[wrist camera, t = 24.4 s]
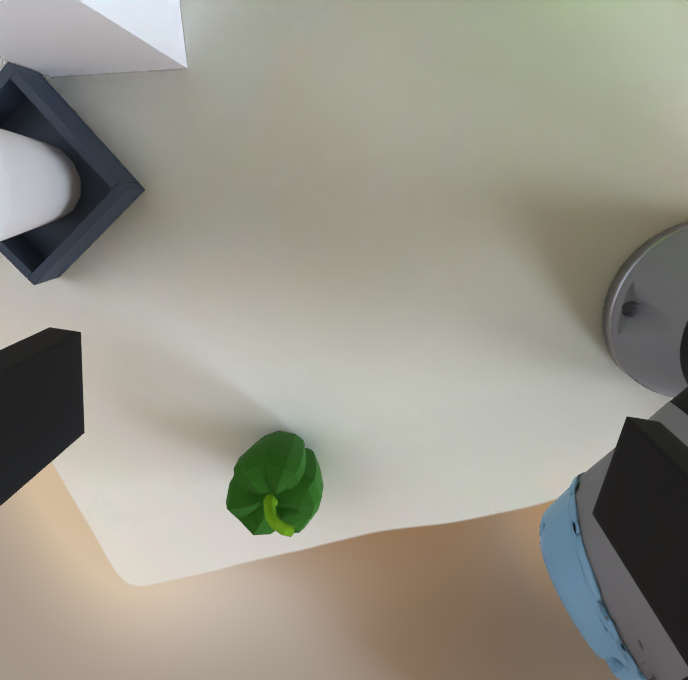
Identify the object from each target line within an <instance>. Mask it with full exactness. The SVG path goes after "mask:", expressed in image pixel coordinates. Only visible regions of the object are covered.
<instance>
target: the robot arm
mask: <svg viewBox="0 0 688 680" xmlns="http://www.w3.org/2000/svg"><path fill="white" fill-rule="evenodd" d="M602 326H603V334H604V338H605V342H606V345H607V348H608V350H609V352H610V354H611V356H612V357H613V359H614V361H615V362H616V363H617V364H618V366H619V367H620V368H621V369H622V370H623V371H624V372H625V373H627V374H628V375H629V376H630V377H632V378H633V379H634V380H635V381H637V382H638V383H639V384H641V385H642V386H644V387H646V388H647V389H650V390H652V391H654V392H657V393H659V394H662V395H665V396H669V397H673V399H672V400H671V401H670V402H668V403H667V404H665V405H664V406H663V407H662V408H661V409H660V410H659V411H657V412H656V413H655V414H654V415H653V416H652V417H650V418H649V419H648V420H646V419H639V418H633V417H626V420H625V423H624V426H623V428H622V431H621V434H620V437H619V440H618V442H617V445H616V447H615V448H614V449H613V450H612V451H611V452H609V453H608V454H607V455H606V456H605V457H603V458H602V459H601V460H600V461H599V462H597V463H596V464H595V465H594V466H592V467H591V468H590V469H589V470H588V471H586V472H583V473H582V474H580V475H578V476H577V477H575V479H574V480H573V482H572V484H571V486H570V487H569V488H568V489H567V490H566V491H565V492H564V493H563V494H562V495H561V496H560V497H559V498H558V499H557V500H556V501H555V502H554V503H553V504H552V505H551V506H549V508H548V509H547V510H546V511H545V513H544V515H543V517H542V519H541V523H540V545H541V551H542V555H543V559H544V562H545V565H546V568H547V571H548V573H549V576H550V578H551V581H552V583H553V585H554V587H555V589H556V591H557V593H558V595H559V597H560V599H561V601H562V603H563V605H564V607H565V608H566V610H567V612H568V613H569V615H570V617H571V619H572V620H573V622H574V624H575V625H576V627H577V628H578V630H579V631H580V632H581V634H582V636H583V637H584V639H585V640H586V641H587V643H588V644H589V646H590V647H591V648H592V649H593V651H594V652H595V653H596V654H597V656H598V657H600V658H603V659H605V660H606V662H607V664H608V665H609V667H610V669H611V671H612V673H613V674H614V675H615V676H616V677H617V678H618V679H619V680H688V222H686V223H683V224H680V225H677V226H674V227H672V228H670V229H667V230H665V231H663V232H662V233H660V234H658V235H656V236H655V237H653V238H651V239H650V240H648V241H647V242H646V243H645V244H643V245H642V246H641V247H640V248H638V249H637V250H636V251H635V252H634V253H633V254H632V255H631V256H630V257H629V258H628V259H627V261H626V262H625V263H624V264H623V266H622V267H621V268H620V270H619V271H618V273H617V274H616V276H615V278H614V280H613V281H612V283H611V286H610V288H609V290H608V293H607V296H606V299H605V303H604V308H603V317H602ZM82 434H84V407H83V379H82V352H81V332H76V331H70V330H63V329H57V328H51V327H50V328H47V329H45V330H43V331H41V332H39V333H36V334H34V335H32V336H30V337H28V338H26V339H23V340H21V341H19V342H17V343H15V344H13V345H10V346H8V347H6V348H4V349H2V350H0V505H2V504H3V503H4V502H5V501H7V500H8V499H9V498H10V497H11V496H12V495H13V494H14V493H16V492H17V491H18V490H19V489H20V488H21V487H22V486H23V485H25V484H26V483H27V482H28V481H29V480H31V479H32V478H33V477H34V476H35V475H36V474H38V473H39V472H40V471H41V470H42V469H43V468H44V467H46V466H47V465H48V464H49V463H50V462H51V461H52V460H54V459H55V458H56V457H57V456H58V455H59V454H61V453H62V452H63V451H64V450H65V449H66V448H67V447H69V446H70V445H71V444H72V443H73V442H74V441H75V440H77V439H78V438H79V437H80V436H81V435H82Z"/></svg>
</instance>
